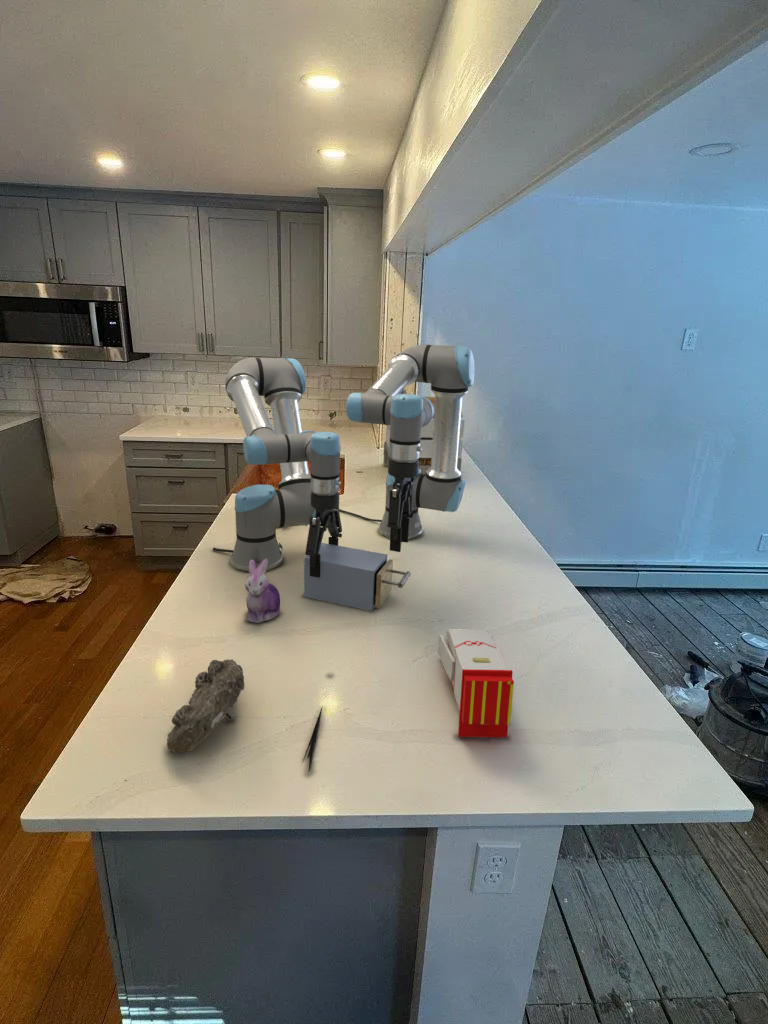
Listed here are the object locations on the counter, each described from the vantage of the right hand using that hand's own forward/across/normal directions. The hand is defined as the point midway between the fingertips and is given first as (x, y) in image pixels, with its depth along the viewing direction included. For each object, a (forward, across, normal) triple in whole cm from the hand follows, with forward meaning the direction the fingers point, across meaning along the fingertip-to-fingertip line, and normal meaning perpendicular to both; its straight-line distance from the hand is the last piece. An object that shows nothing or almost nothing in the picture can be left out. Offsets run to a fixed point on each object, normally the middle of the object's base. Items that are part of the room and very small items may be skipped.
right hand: (399, 545), depth 146 cm
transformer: (+17, +128, +29) cm, 132 cm away
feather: (+17, -48, 0) cm, 51 cm away
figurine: (+17, -18, +29) cm, 39 cm away
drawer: (+16, 0, +9) cm, 19 cm away
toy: (+17, -29, -26) cm, 42 cm away
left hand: (+10, 0, +21) cm, 23 cm away
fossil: (+17, -55, +19) cm, 61 cm away
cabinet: (+17, 0, +15) cm, 22 cm away
